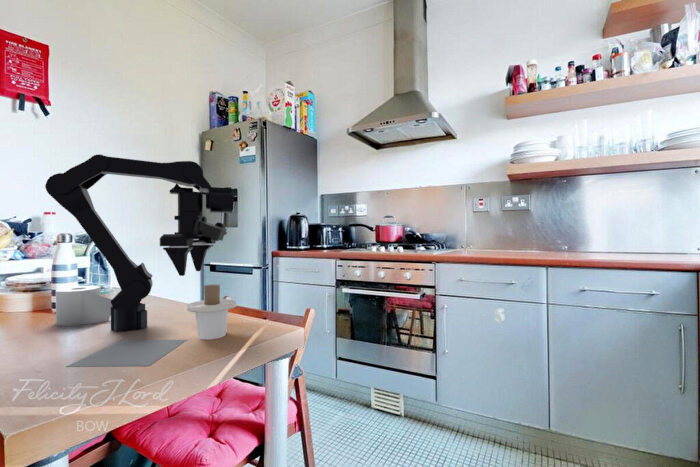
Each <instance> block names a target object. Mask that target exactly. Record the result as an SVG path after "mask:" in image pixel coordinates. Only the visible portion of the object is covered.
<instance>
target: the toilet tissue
mask: <svg viewBox="0 0 700 467" xmlns="http://www.w3.org/2000/svg"><path fill="white" fill-rule="evenodd" d="M101 288H102V287H101V286H99V285H82V286H81V285H79V286H72V287H71V286H70V287H62V288H58V289H55V325H56V326H61V327H62V326H63V327H64V326H65V327H68V326H69V327H70V326H77V325H88V324H89V325H90V324H97V323H102V322H109V320H110V319H111V306H112V304H111V300H112V299H113V298H112V299H111V298H109V297H108V298H107V297H104V296H102V295H101V293H102V292H101V291H102V290H101Z"/></svg>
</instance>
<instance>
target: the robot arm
mask: <svg viewBox="0 0 700 467" xmlns="http://www.w3.org/2000/svg"><path fill="white" fill-rule="evenodd" d="M106 175H115V176H125V177H136V178H142V179H143V178H145V179H155V180H163V181H166V182H169V183H173V184H174V186H173V187H172V188H171V189H170V190H169V194H170V195H177V215H174V220H175V221H177V231H175V232H174V233H164V234H162V235H161V236H160V237H159V247H163V248H162V249H163V250H164V251H165V252H166V254H167V256H168V258H169V259H170V261H171V262H172V264H173V266H174V268H175V270H176V271H177V273H178V275H179V276H180V277H184V276H185V275H186V269H187V261H188V254H190V257H191V260H192V263H193V266H194V270H195V271H196V272H200V271H202V268H203V264H204V260H205V258H206V254H207V252H208V251H209V250H210V249H211V248H212V247H214V244H216V242H219V241H223V239H224V237H225V236H226V235H227V234H228V232H227V228H226V224H225V223H223V222H220V221H217V222H216V223H215V224H214V223H209V222H208V220H207V219H208V218H207V217H206V215H205V216H203V215H204V214H203V212H204V211H203V209H205V210H206V209H207V210H208V211H209V214H210V213H212V214H214V213H216V214H217V213H218V214H221V213H223V214H233V211H234V203H235V202H234V200H235V199H234V198H233V197H234V196H233V192H232V191H233V189H232V187H227V186H225V187H217V186H216V187H214V186H211V183H209V182H208V180H207V179H206V178H205V176H204V171H203V168H202V167H201V166H200V165H199V163H198V162H196V161H191V160H182V161H181V160H180V161H171V162H169V161H168V162H157V161H149V160H140V159H131V158H125V157H124V158H122V157H117V156H116V157H115V156H107V155H103V154H95V155H92V156H90V158H88V159H86V160H85V161H83V162H81V163H79V164H77V165H75V166H73V167H70V168H69V169H68V170H65V171H64V172H63V173H62V172H59V173H56V174H52V175H51V176H50V177H49V178H48V179H47V180H46V183H45V186H44V187H45V191H46V192H47V194H49V196H50V197H51V198H53V199H54V200H55V201H56V202H57V203H58V204H59V205H60V206H61V207H62V208H63V209H65V210H66V211H67V212H68V213H69V214H71V216H73V217H74V218H75V220H76V221H77V222H78V224H79V225H80V226H81V227H82V229H83V230H84V232H85V233H86V234H87V236H88V237H89V238H90V240H91V241H92V242H93V244H94V245H95V247H96V248H97V249H98V250H99V252H100V253H101V254H102V256H103V257H104V258H105V260H106V261H107V263H108V264H109V266H110V267H111V268H112V270H113V273H114V275H115V279H116V281H117V283H118V284H117V285H118V286H119V288H120V291H119V292H118V293H117V294H116V295H114V297H113V298H112V300H111V304H112V306H111V316H110V331H114V332H117V333H118V332H119V333H123V332H124V333H125V332H132V331H140V330H141V331H142V330H143V329H146V328H147V327H148V310H147V309H146V303H142V300H143V299H145V298H147V296H148V295H149V294H150V293H151V290H152V289H153V285H154V284H153V280H152V278H153V277H154V276H153V274H152V273H150V272H149V271H148V270H147V266H146V265H145V263H144V262H141V263H140V264H138V265H137V263H135V261H133V260H132V259H131V258H130V257H129V256H128V254H127V253H126V251H125V249H124V248H123V247H122V245H121V244H120V243H119V241H118V240H117V239H116V237H115V236H114V234H113V233H112V232H111V230H110V229H109V228H108V226H107V225H106V224H105V222H104V220H103V219H102V218H101V216H100V215H99V214H98V212H97V211H96V209H95V206H94V204H93V201H92V198H91V195H90V193H89V191H88V190H90V188H93V187H94V185H96V184H97V183H98V182H99V181H100V180H102V178H104V177H105V176H106ZM181 186H182V187H181ZM183 186H185V187H183ZM194 189H196V190H197V191H194ZM203 196H204V204H203ZM203 205H204V208H203ZM148 297H149V296H148Z"/></svg>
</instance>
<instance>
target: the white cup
mask: <svg viewBox="0 0 700 467" xmlns="http://www.w3.org/2000/svg"><path fill="white" fill-rule="evenodd" d="M194 314H195V321H196V331H197V338H198V339H199V340H205V341H206V340H216V339H219V338H223V337H225V336H226V334H227V326H228V325H227V324H228V316H229V315H228V314H229V310H225V311H219V312H210V313H196V312H194Z"/></svg>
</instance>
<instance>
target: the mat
mask: <svg viewBox="0 0 700 467" xmlns="http://www.w3.org/2000/svg"><path fill="white" fill-rule="evenodd" d="M186 341H187V339H120V340H118V341H115V342H114V343H111V344H109V345H107V346H106V347H103V348H102V349H99V350H97V351H95V352H93V353H91V354H89V355H87V356H85V357H83V358H81V359H79V360H76V361H75V362H72V363H69V365H67V366H65V367H66V368H80V367H81V368H85V367H86V368H89V367H91V368H92V367H94V368H96V367H97V368H98V367H99V368H100V367H101V368H102V367H103V368H106V367H107V368H108V367H111V368H112V367H116V368H117V367H150V366H152V365H153V364H155V363H156V362H158V361H160V360H161V359H162V358H163V357H165V356H166V355H168V354H169V353H171V352H172V351H173V350H175V349H176V348H178V347H179V346H180V345H182V344H184V343H186Z"/></svg>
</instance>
